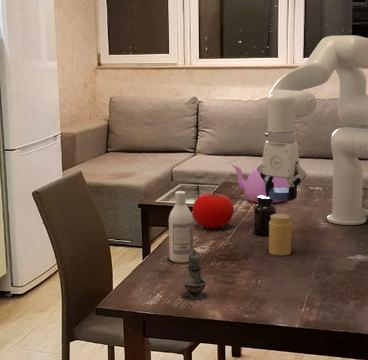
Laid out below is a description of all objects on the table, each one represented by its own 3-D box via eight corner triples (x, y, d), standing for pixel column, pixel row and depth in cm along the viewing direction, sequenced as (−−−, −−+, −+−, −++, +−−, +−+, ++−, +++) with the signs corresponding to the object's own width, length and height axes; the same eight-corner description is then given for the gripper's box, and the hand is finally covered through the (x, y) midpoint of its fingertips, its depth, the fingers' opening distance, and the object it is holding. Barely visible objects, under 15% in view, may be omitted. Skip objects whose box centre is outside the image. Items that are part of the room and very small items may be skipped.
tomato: (191, 222, 255) (191, 188, 253) (231, 221, 254) (231, 187, 252) (193, 232, 242) (193, 197, 240) (235, 231, 242) (235, 196, 239)
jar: (289, 248, 222) (289, 213, 220) (292, 255, 216) (293, 218, 213) (267, 249, 222) (267, 213, 220) (270, 255, 216) (270, 219, 214)
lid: (268, 200, 213) (268, 192, 213) (269, 194, 220) (269, 187, 219) (292, 200, 212) (292, 193, 211) (293, 194, 218) (293, 187, 218)
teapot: (231, 193, 295) (231, 159, 293) (287, 193, 292) (288, 158, 290) (231, 206, 274) (231, 170, 271) (291, 206, 271) (292, 169, 268)
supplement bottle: (275, 236, 235) (275, 199, 232) (253, 236, 236) (253, 199, 234) (275, 230, 241) (276, 194, 239) (254, 230, 243) (254, 194, 240)
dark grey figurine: (181, 291, 189) (180, 246, 187) (204, 290, 189) (203, 245, 187) (185, 300, 183) (184, 253, 181) (208, 298, 184) (208, 252, 181)
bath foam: (198, 260, 213) (197, 192, 209) (177, 264, 210) (175, 195, 206) (185, 254, 219) (184, 188, 215) (165, 258, 216) (163, 191, 212)
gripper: (248, 136, 215) (248, 196, 219) (301, 141, 203) (300, 204, 207) (262, 133, 220) (262, 191, 224) (315, 137, 209) (314, 199, 213)
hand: (281, 197), depth 216 cm, fingers closed on lid, 6 cm apart
